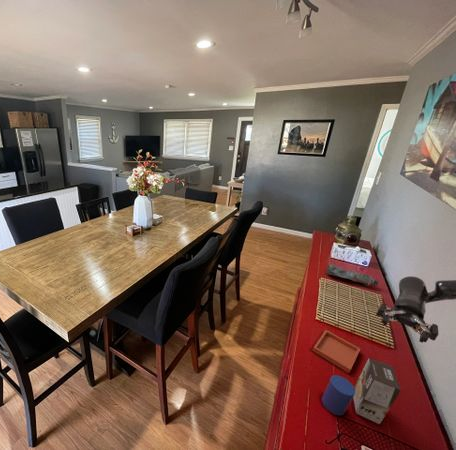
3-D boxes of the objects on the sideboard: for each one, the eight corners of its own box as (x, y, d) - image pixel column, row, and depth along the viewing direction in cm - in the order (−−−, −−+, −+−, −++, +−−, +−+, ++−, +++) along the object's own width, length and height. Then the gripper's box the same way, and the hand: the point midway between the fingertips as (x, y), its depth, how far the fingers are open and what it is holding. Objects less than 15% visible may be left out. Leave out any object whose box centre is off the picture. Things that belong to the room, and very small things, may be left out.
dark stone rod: (323, 276, 149) (375, 293, 134) (326, 265, 147) (380, 282, 132) (326, 269, 159) (375, 284, 143) (329, 259, 157) (380, 274, 141)
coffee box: (380, 425, 74) (402, 391, 68) (355, 413, 77) (374, 380, 71) (374, 399, 81) (393, 366, 75) (351, 389, 84) (367, 356, 78)
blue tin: (347, 406, 79) (357, 386, 75) (341, 420, 75) (352, 400, 71) (325, 391, 84) (334, 371, 80) (318, 403, 80) (327, 383, 76)
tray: (358, 352, 99) (360, 348, 98) (349, 373, 90) (350, 369, 89) (324, 333, 107) (325, 329, 107) (312, 350, 99) (313, 347, 98)
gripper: (433, 328, 82) (429, 355, 72) (379, 305, 92) (370, 326, 82) (443, 311, 79) (441, 337, 69) (387, 290, 89) (378, 309, 79)
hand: (403, 331), depth 76 cm, fingers open, 8 cm apart
